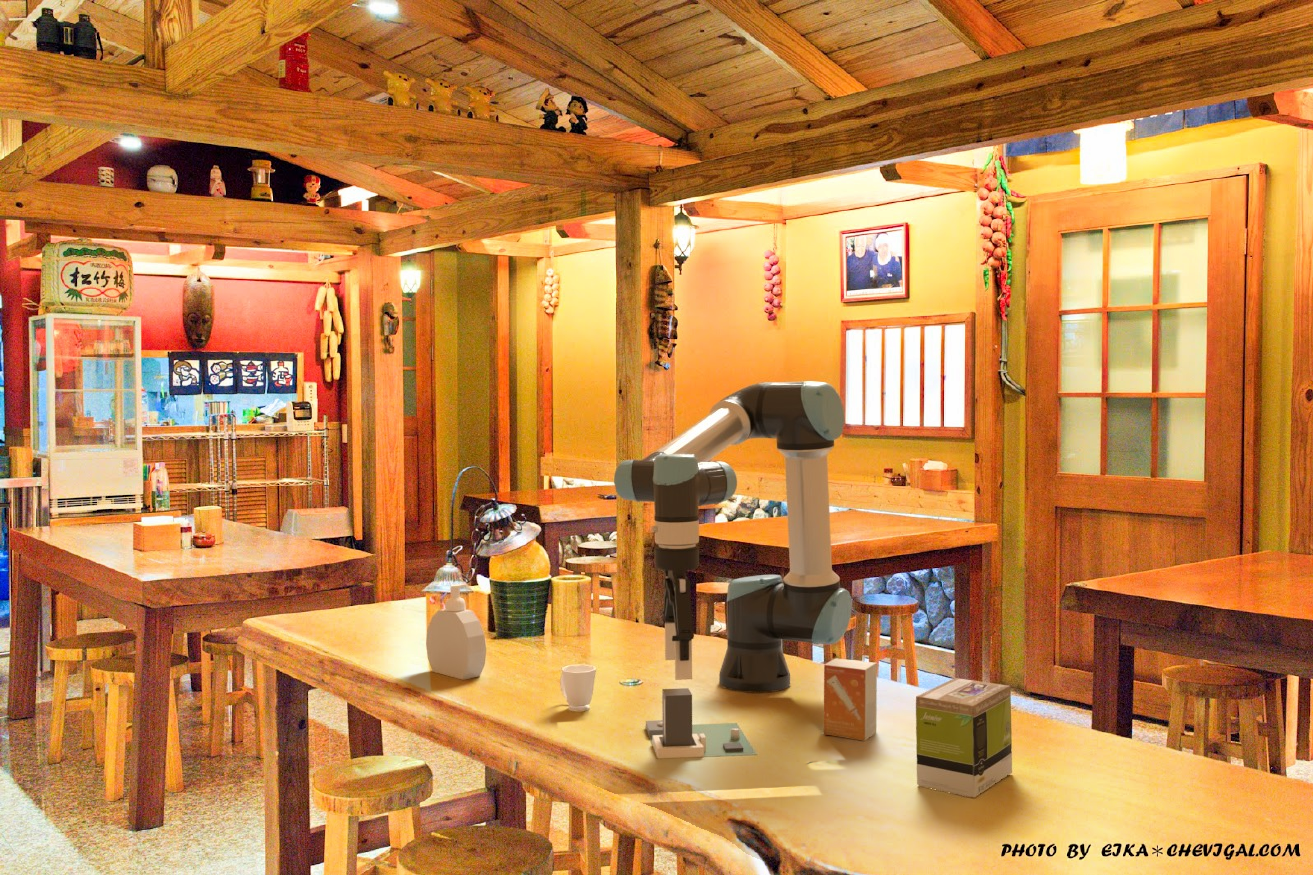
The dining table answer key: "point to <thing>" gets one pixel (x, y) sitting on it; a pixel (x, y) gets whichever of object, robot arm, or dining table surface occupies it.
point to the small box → (850, 698)
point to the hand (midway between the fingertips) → (678, 669)
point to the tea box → (963, 736)
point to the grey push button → (654, 727)
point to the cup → (578, 686)
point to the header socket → (680, 747)
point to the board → (722, 740)
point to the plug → (677, 717)
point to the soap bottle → (456, 639)
